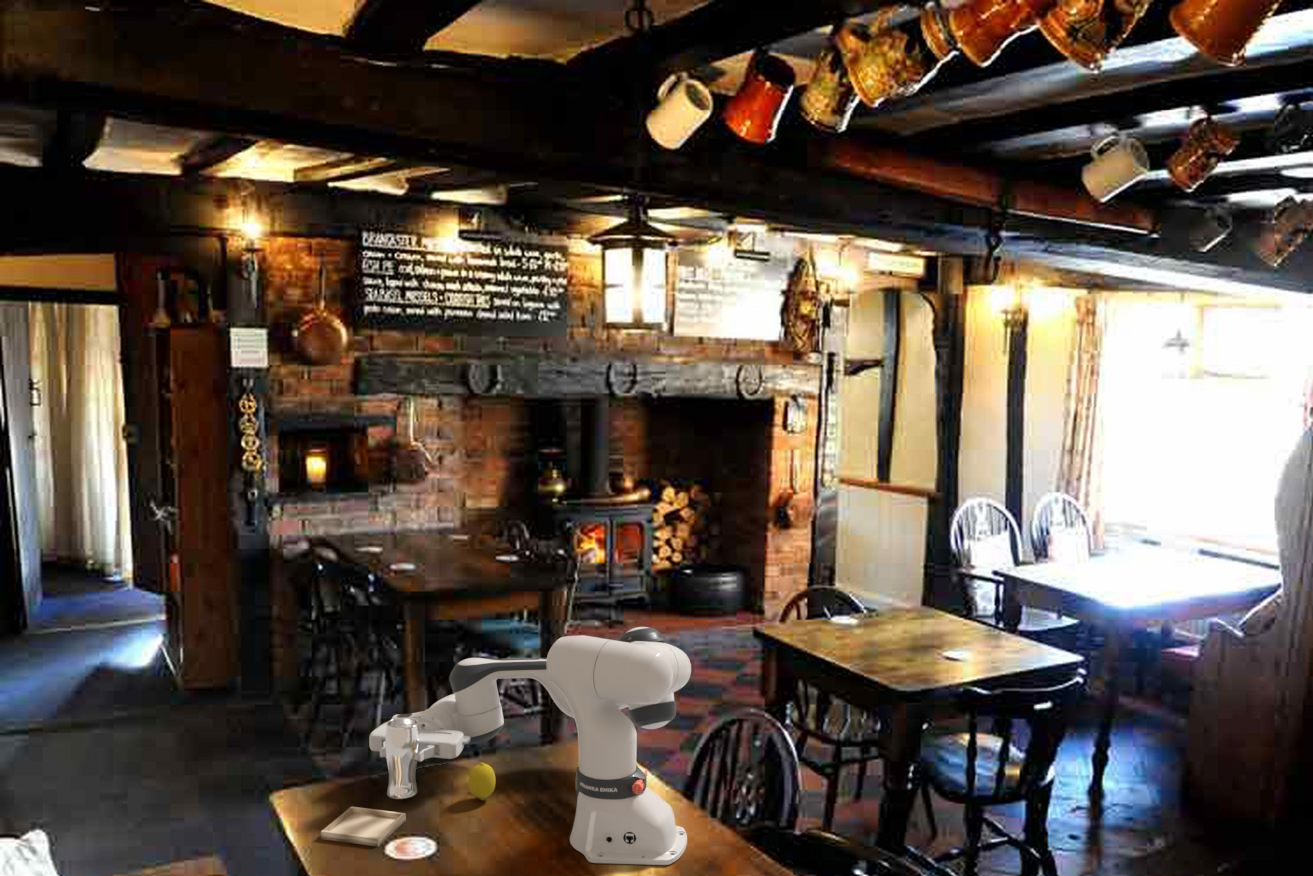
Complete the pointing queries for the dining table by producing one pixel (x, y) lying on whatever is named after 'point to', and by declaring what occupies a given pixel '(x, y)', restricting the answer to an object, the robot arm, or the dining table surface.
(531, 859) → the dining table surface
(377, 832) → the tray
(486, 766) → the lemon
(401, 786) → the beer glass
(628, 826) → the robot arm
